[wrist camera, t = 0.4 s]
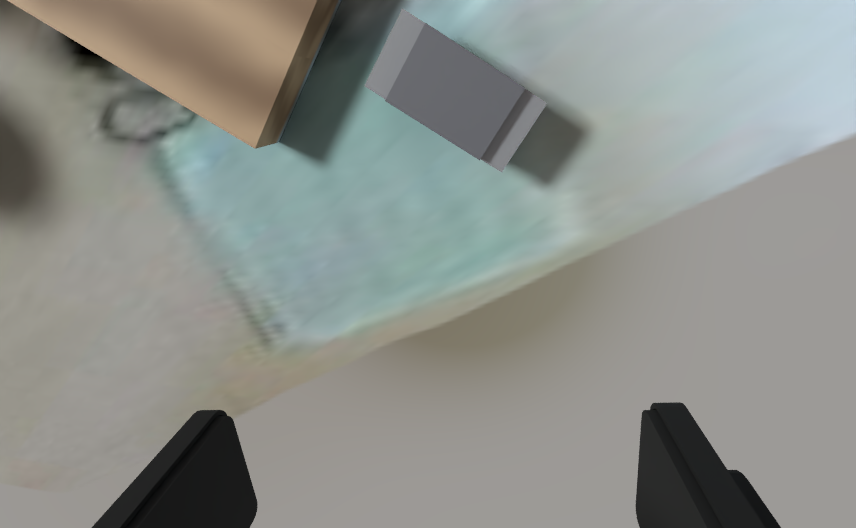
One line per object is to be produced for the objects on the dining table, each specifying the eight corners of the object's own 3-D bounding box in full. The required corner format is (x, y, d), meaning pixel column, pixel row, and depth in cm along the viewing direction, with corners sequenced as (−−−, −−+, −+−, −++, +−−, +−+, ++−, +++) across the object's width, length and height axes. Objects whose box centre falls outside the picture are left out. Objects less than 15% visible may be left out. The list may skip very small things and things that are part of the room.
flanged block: (412, 18, 31) (400, 6, 27) (539, 100, 32) (548, 103, 28) (378, 86, 33) (361, 85, 29) (499, 162, 34) (502, 174, 29)
